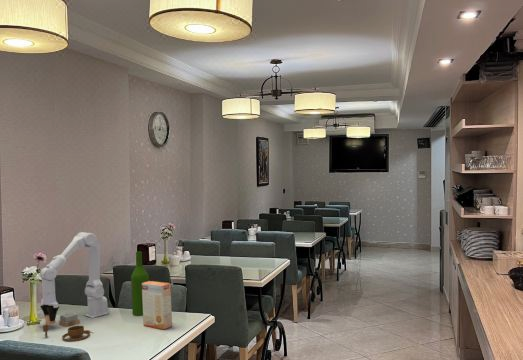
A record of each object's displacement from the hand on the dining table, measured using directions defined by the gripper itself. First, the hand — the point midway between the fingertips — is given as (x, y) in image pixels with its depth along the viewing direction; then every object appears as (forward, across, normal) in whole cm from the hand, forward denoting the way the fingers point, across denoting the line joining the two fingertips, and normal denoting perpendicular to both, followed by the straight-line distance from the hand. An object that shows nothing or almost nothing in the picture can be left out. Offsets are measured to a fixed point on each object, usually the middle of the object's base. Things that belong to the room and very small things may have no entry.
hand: (50, 320), depth 241 cm
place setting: (+4, +21, 0) cm, 21 cm away
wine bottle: (+4, +18, +40) cm, 44 cm away
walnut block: (+4, +3, +8) cm, 10 cm away
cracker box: (+4, +43, +32) cm, 54 cm away
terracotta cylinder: (+2, 0, 0) cm, 2 cm away
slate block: (+2, +3, +8) cm, 9 cm away
